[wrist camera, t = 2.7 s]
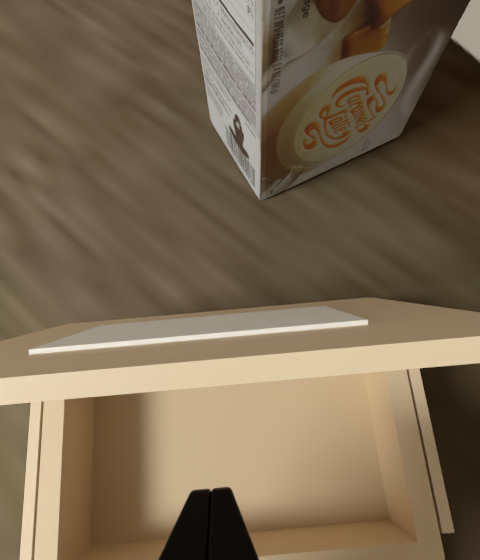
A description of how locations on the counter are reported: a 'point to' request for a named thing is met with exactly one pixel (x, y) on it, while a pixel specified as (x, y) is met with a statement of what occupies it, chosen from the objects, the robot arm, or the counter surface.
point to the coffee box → (315, 78)
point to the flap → (234, 348)
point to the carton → (240, 469)
